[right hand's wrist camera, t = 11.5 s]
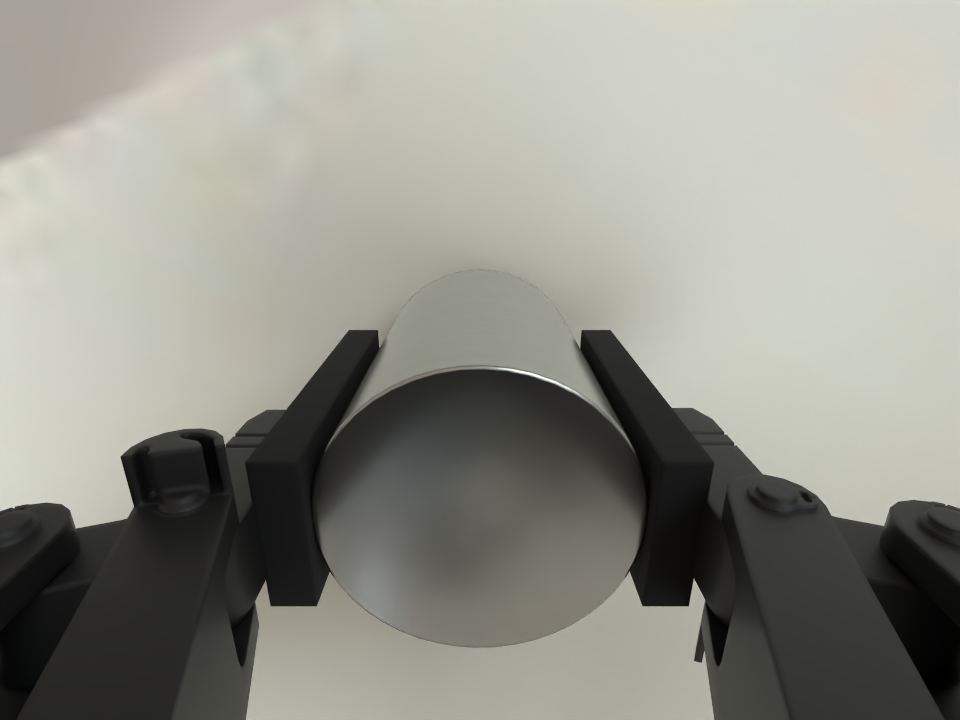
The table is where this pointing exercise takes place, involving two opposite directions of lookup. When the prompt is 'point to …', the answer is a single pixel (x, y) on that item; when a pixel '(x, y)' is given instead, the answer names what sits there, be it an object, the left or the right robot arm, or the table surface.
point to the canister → (479, 472)
